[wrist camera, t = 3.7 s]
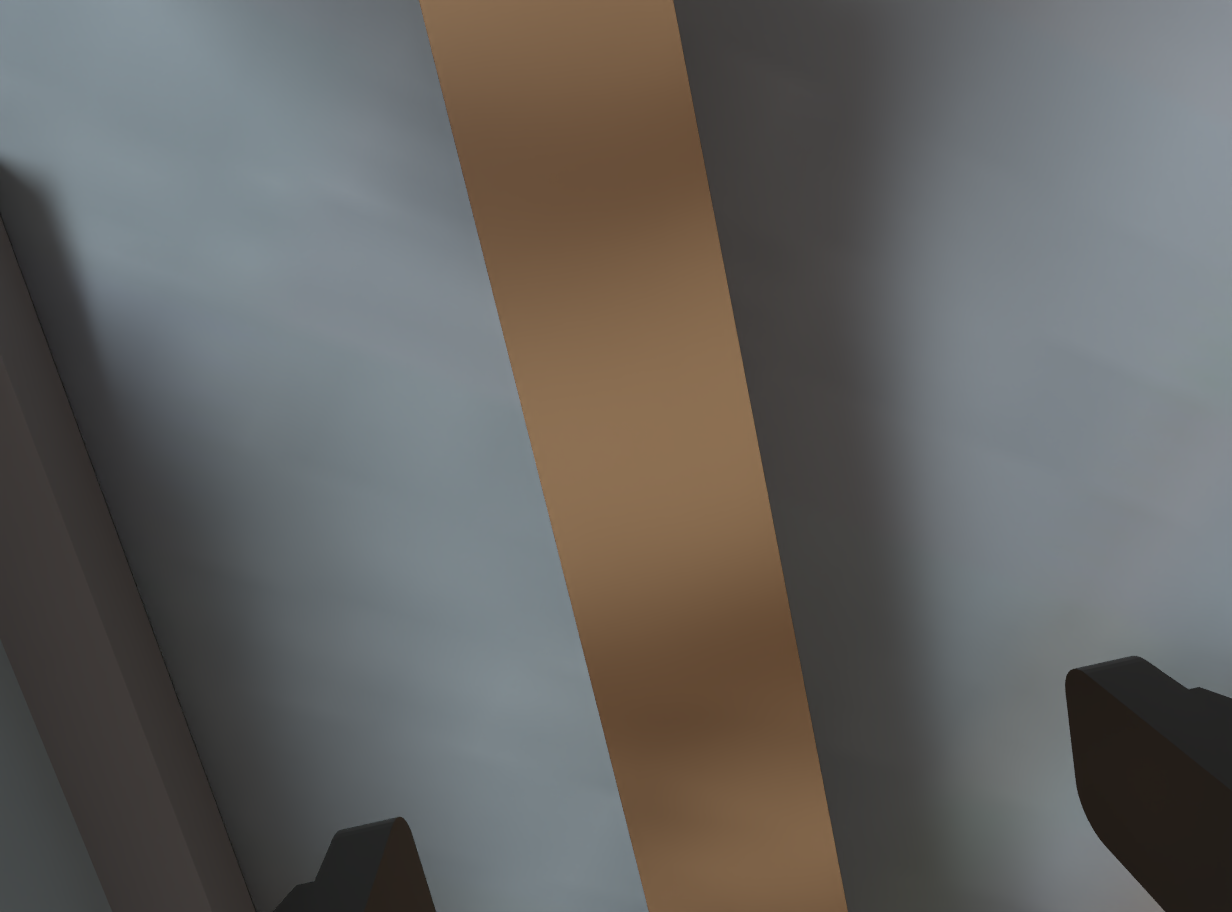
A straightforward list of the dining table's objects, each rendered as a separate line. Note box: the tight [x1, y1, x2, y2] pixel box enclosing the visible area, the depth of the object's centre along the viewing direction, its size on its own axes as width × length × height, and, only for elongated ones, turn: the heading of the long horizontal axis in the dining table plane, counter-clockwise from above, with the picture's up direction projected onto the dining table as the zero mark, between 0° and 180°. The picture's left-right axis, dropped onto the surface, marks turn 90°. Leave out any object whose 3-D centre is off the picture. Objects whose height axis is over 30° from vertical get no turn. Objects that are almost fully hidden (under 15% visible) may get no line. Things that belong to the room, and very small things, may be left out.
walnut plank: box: [419, 0, 848, 912], centre depth 16 cm, size 24×3×6 cm, turn 13°
